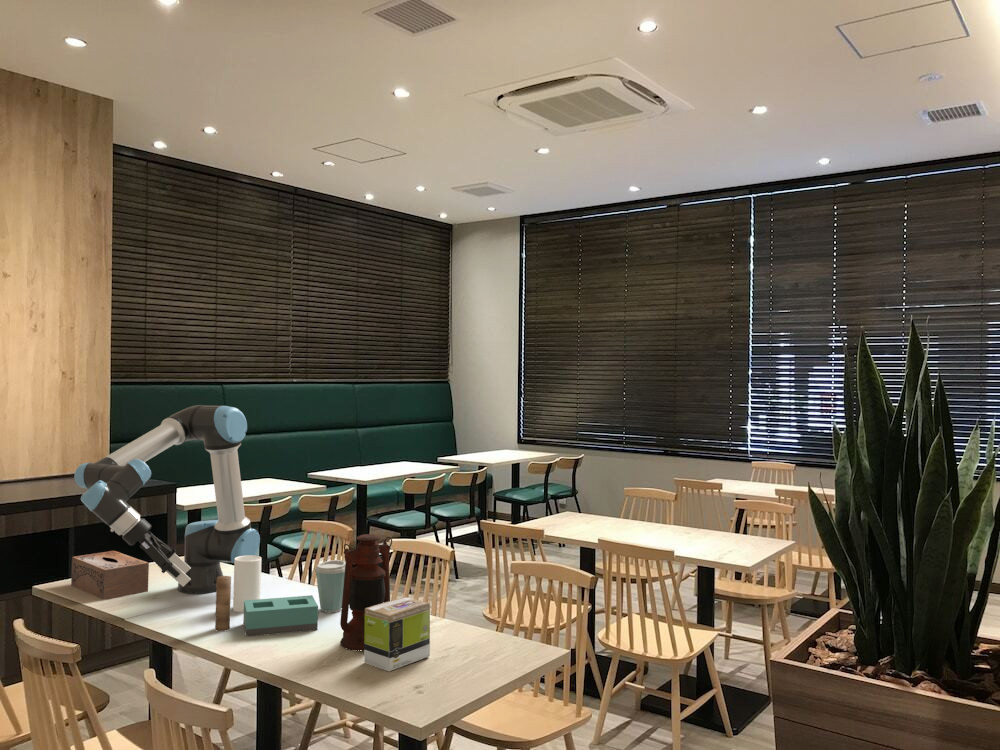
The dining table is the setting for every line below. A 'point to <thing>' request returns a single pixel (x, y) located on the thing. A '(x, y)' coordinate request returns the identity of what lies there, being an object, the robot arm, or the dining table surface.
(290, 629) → the socket block
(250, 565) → the cup
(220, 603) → the walnut pin
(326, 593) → the disposable coffee cup
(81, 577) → the tissue box cover
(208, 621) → the dining table surface
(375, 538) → the lantern
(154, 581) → the dining table surface
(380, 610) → the tea box
